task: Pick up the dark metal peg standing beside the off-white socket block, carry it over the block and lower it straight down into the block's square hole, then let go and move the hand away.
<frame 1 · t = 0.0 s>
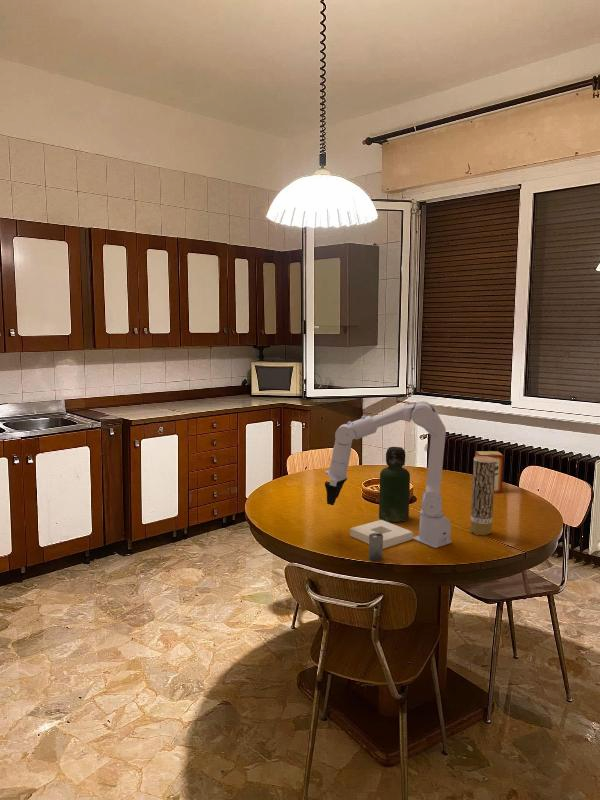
hand: (332, 500, 197), 11 cm above the table, tool pointing down, fingers open, 7 cm apart
socket: (380, 537, 194), on the table
baking soda box: (487, 491, 246), on the table
peg: (375, 558, 177), on the table
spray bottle: (393, 518, 213), on the table
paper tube: (480, 533, 199), on the table
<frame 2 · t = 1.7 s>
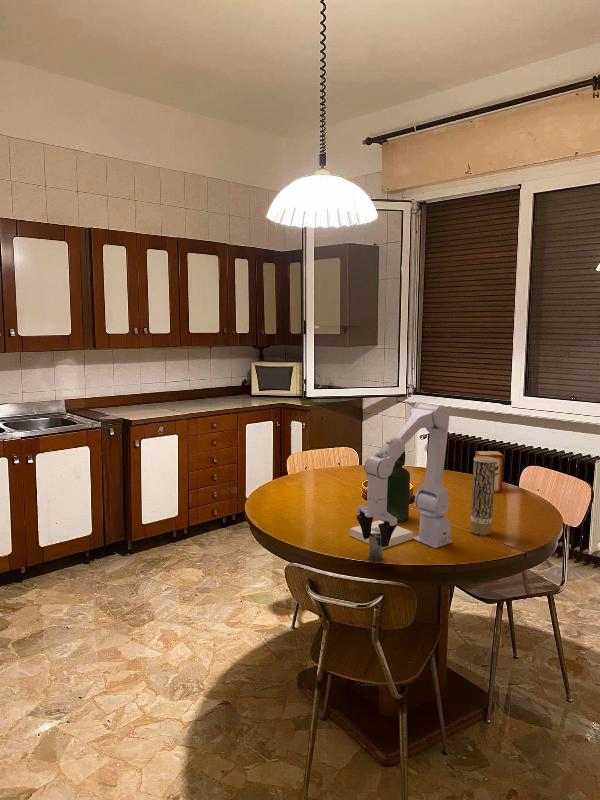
hand: (375, 542, 177), 5 cm above the table, tool pointing down, fingers open, 7 cm apart
nothing on the table moved.
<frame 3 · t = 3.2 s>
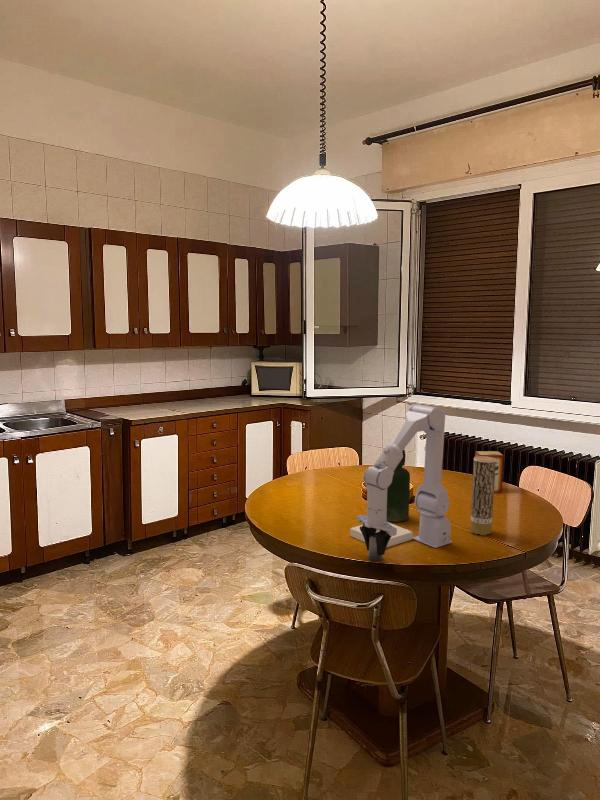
hand: (375, 552, 177), 2 cm above the table, tool pointing down, fingers closed on peg, 4 cm apart
peg: (375, 558, 177), on the table, touching gripper
everything else where it was.
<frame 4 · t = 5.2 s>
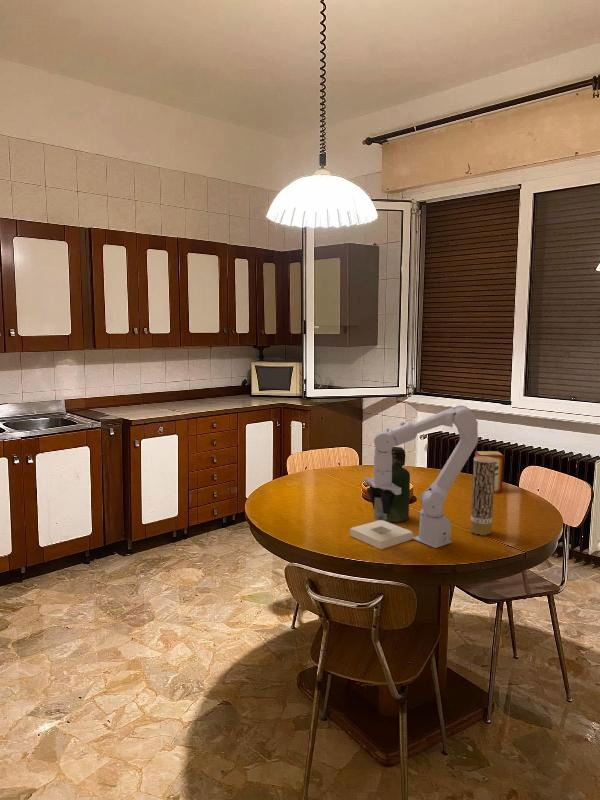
hand: (381, 511, 192), 9 cm above the table, tool pointing down, fingers closed on peg, 4 cm apart
peg: (380, 518, 192), point 7 cm above the table, touching gripper
everything else where it was.
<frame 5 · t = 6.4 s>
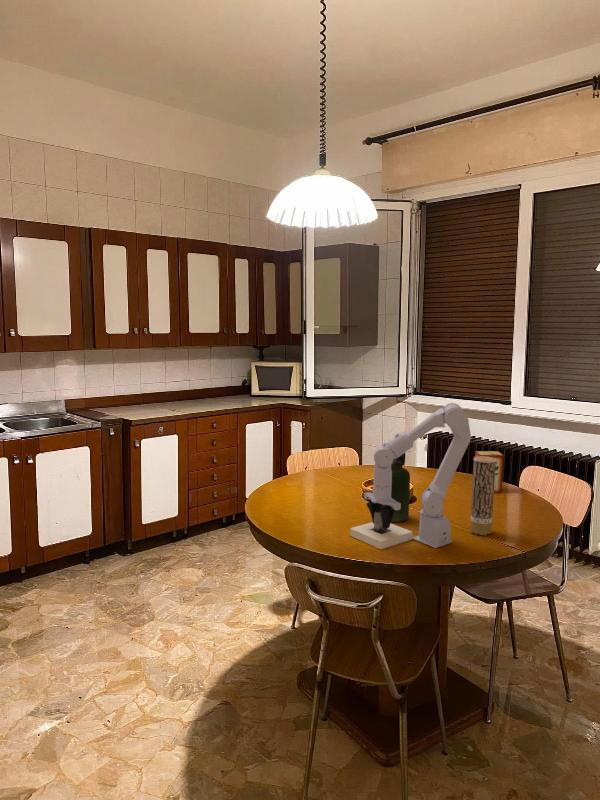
hand: (381, 525, 193), 4 cm above the table, tool pointing down, fingers closed on peg, 4 cm apart
peg: (380, 532, 193), point 2 cm above the table, touching gripper
everything else where it was.
when the fingers open (3 cm above the table, at t = 7.4 s): peg drops 1 cm, resting in socket.
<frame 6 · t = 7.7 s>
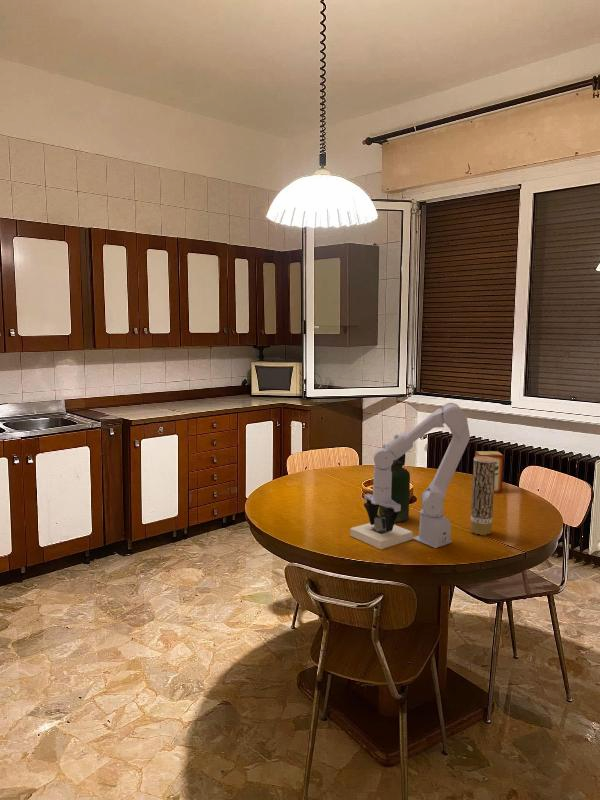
hand: (381, 527, 193), 3 cm above the table, tool pointing down, fingers open, 7 cm apart
peg: (380, 537, 194), resting in socket
everything else where it was.
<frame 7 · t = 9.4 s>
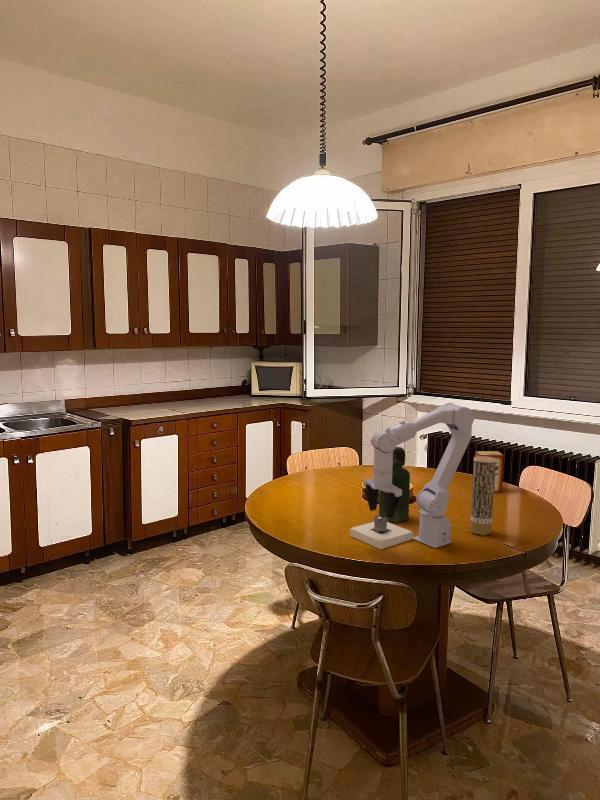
hand: (381, 513, 185), 10 cm above the table, tool pointing down, fingers open, 7 cm apart
nothing on the table moved.
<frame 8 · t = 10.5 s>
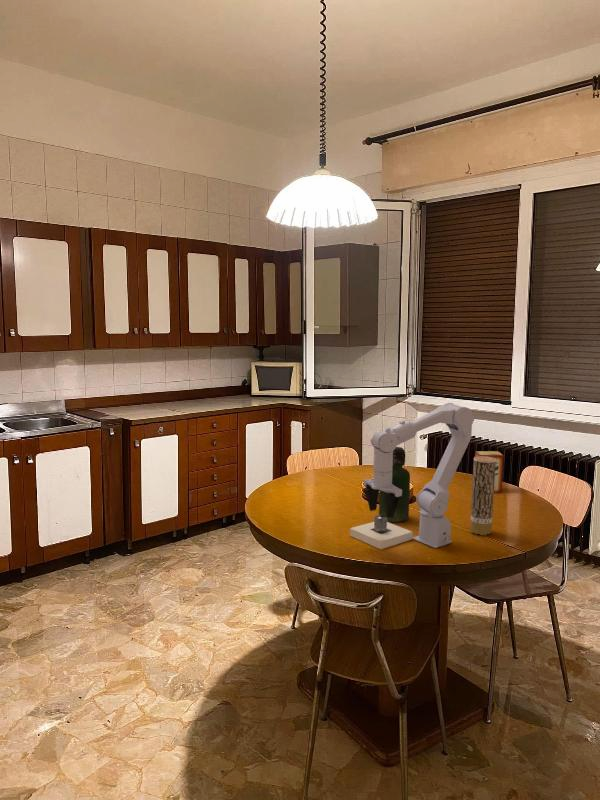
hand: (381, 513, 185), 10 cm above the table, tool pointing down, fingers open, 7 cm apart
nothing on the table moved.
at the end: peg 0.5 cm off-centre on the socket, point 0.0 cm above the socket's base; peg tilted 0°; the gripper is holding nothing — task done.
